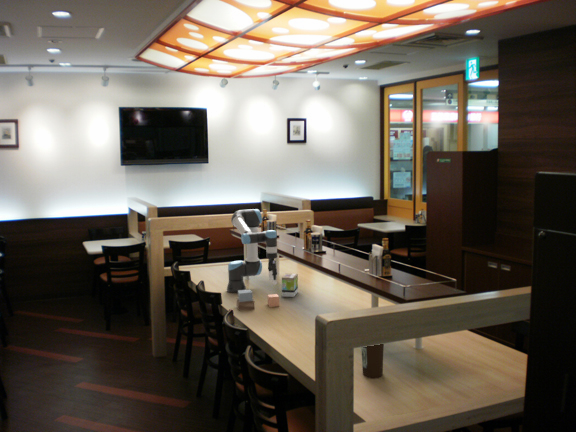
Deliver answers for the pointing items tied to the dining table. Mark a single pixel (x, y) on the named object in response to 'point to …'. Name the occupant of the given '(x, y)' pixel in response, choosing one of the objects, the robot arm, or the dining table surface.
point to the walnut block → (245, 305)
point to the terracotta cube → (273, 300)
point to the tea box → (289, 285)
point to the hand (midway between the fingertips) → (272, 282)
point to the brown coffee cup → (372, 361)
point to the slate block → (245, 295)
